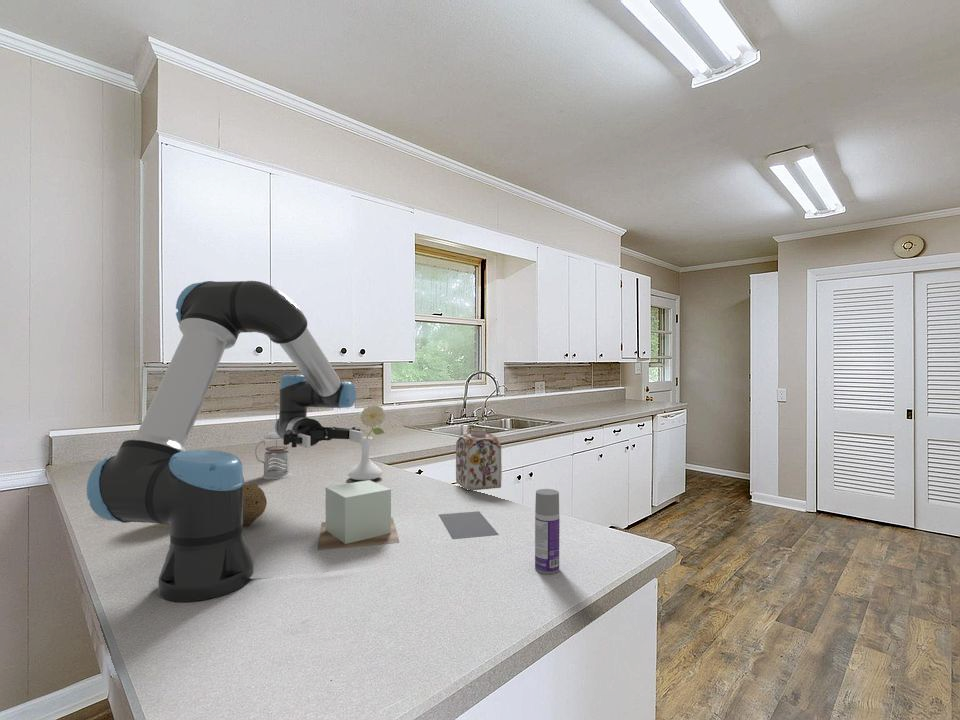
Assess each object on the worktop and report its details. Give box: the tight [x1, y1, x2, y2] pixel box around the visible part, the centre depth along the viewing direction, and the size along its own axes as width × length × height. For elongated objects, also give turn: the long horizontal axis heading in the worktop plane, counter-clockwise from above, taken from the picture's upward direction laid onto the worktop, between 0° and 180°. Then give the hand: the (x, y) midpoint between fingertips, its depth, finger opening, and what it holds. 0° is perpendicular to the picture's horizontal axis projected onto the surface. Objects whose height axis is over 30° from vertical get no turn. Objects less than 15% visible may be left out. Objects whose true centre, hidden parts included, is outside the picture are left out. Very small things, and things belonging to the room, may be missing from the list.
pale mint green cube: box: [325, 480, 392, 544], centre depth 116 cm, size 11×11×10 cm
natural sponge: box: [243, 483, 268, 526], centre depth 123 cm, size 9×9×10 cm
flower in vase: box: [347, 404, 386, 481], centre depth 169 cm, size 13×11×25 cm
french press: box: [254, 403, 292, 480], centre depth 173 cm, size 10×12×25 cm
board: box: [316, 516, 401, 551], centre depth 116 cm, size 18×17×1 cm
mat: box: [438, 510, 500, 540], centre depth 121 cm, size 18×20×1 cm
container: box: [534, 488, 561, 575], centre depth 98 cm, size 5×5×15 cm
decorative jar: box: [455, 427, 503, 492], centre depth 161 cm, size 12×12×18 cm
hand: (336, 439), depth 123 cm, fingers open, 13 cm apart
